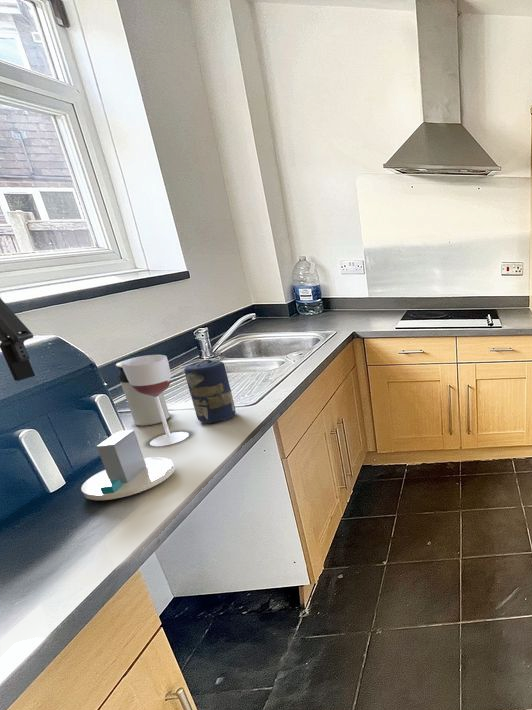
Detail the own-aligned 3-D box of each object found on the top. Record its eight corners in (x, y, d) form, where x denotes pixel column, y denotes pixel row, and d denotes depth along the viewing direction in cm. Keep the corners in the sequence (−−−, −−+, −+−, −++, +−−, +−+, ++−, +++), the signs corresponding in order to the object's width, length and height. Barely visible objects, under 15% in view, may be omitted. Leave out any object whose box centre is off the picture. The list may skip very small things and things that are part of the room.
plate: (112, 466, 95) (96, 426, 92) (187, 458, 99) (175, 419, 95) (63, 505, 82) (43, 460, 78) (152, 494, 85) (137, 450, 81)
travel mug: (174, 418, 122) (156, 360, 116) (141, 428, 116) (120, 367, 110) (164, 412, 126) (146, 356, 120) (130, 422, 120) (110, 362, 114)
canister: (190, 423, 119) (172, 363, 113) (219, 410, 128) (204, 354, 122) (217, 427, 117) (200, 366, 111) (244, 413, 126) (230, 356, 120)
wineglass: (188, 427, 117) (166, 352, 109) (191, 440, 110) (167, 361, 102) (148, 437, 111) (121, 358, 104) (148, 450, 104) (120, 367, 97)
